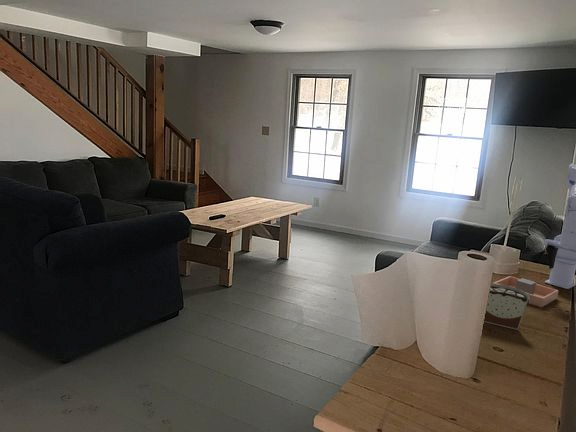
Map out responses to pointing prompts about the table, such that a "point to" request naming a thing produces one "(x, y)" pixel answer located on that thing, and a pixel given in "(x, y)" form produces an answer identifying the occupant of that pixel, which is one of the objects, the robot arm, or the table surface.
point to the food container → (506, 306)
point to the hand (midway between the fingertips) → (563, 271)
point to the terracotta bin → (540, 294)
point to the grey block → (526, 285)
